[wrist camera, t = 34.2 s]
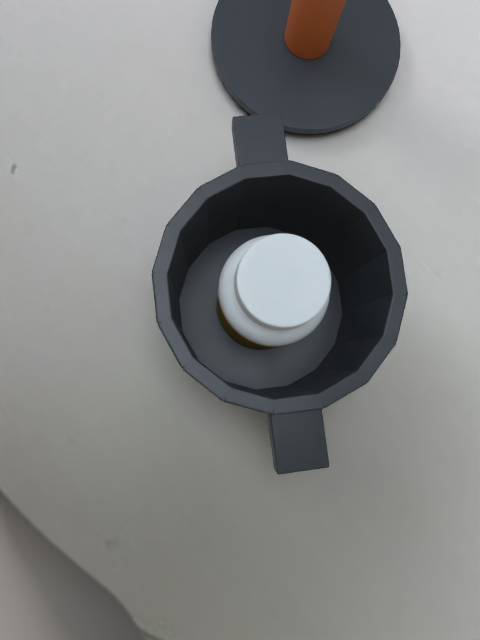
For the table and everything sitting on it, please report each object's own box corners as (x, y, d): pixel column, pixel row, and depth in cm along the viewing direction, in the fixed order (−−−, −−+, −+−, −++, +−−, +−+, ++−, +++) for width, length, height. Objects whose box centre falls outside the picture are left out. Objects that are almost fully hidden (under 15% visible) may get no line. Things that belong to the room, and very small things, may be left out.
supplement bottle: (220, 260, 29) (226, 208, 19) (305, 269, 29) (352, 221, 19) (211, 346, 28) (213, 337, 19) (298, 354, 28) (344, 349, 19)
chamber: (184, 455, 28) (174, 493, 19) (156, 187, 29) (135, 115, 21) (367, 430, 29) (433, 456, 20) (330, 171, 30) (377, 97, 22)
